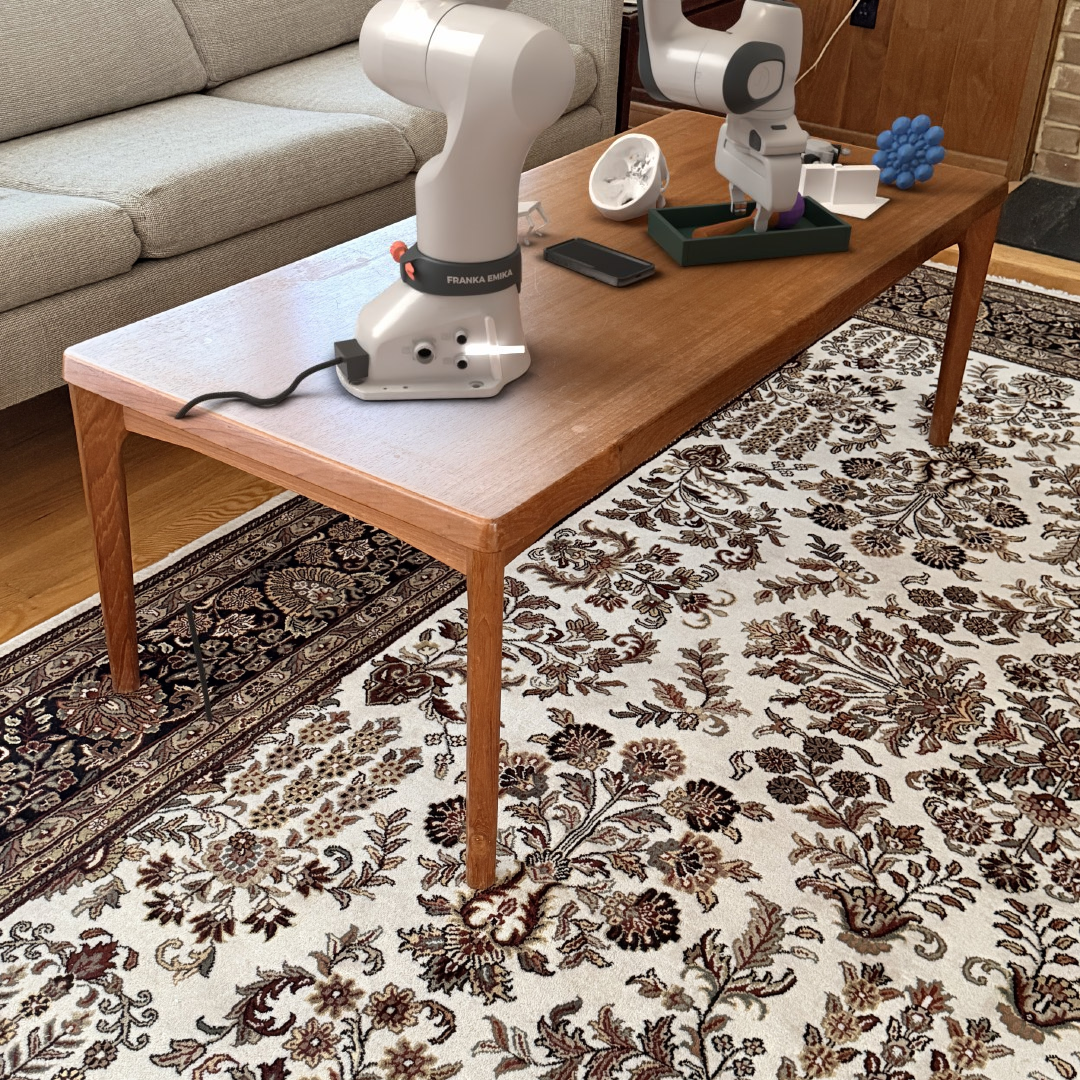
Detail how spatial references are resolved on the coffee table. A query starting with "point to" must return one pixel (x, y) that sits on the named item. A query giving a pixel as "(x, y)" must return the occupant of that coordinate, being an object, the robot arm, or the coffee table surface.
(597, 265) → the phone
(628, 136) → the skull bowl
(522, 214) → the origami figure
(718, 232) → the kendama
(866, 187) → the napkin holder
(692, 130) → the coffee table surface
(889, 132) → the blue beaded flower
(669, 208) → the tray
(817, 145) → the robot toy
